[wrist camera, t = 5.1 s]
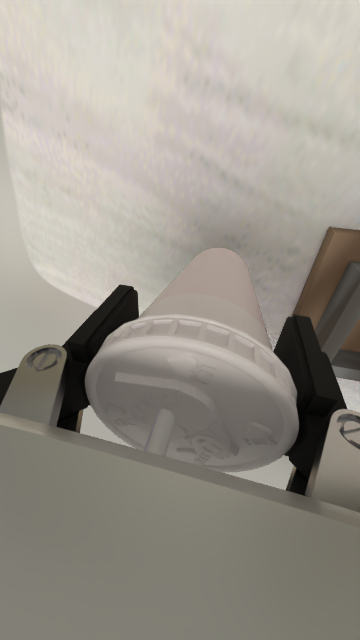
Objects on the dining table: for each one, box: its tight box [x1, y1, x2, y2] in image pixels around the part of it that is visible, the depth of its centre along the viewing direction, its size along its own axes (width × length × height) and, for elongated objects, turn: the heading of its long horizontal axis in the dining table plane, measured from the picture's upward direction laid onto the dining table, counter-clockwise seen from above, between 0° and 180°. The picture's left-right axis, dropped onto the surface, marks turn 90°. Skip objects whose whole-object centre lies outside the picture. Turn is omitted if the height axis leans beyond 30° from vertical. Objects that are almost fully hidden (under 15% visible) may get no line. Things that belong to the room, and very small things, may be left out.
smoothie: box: [85, 248, 299, 472], centre depth 9 cm, size 6×6×14 cm
